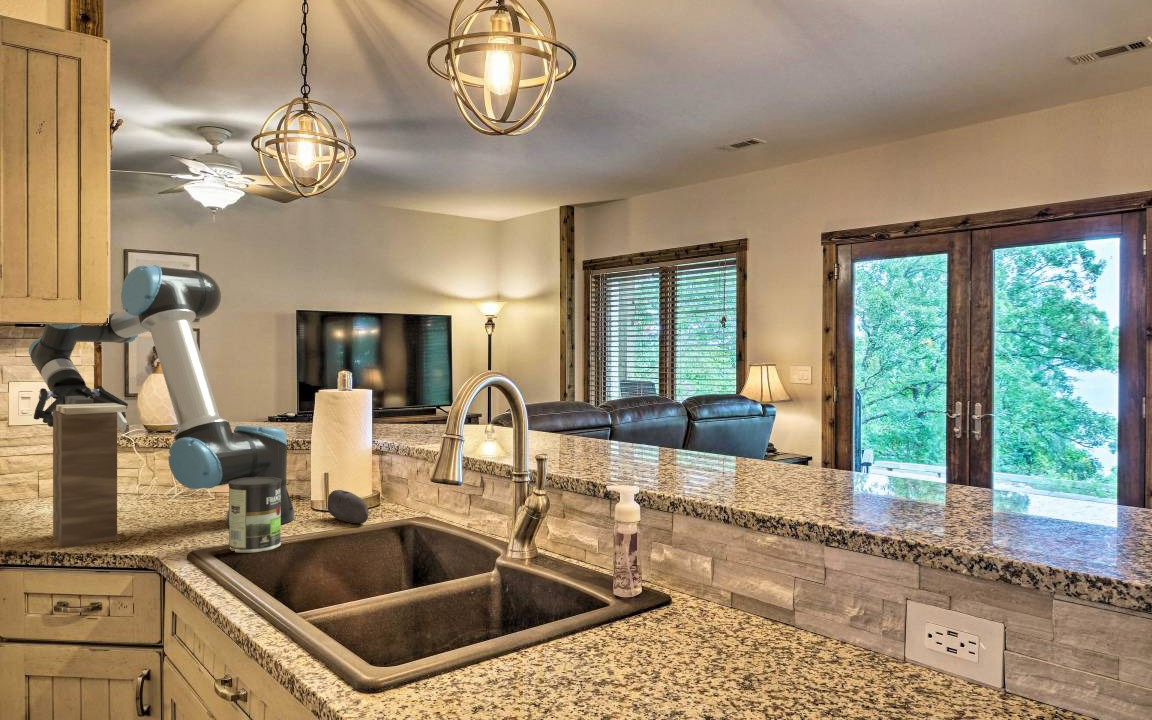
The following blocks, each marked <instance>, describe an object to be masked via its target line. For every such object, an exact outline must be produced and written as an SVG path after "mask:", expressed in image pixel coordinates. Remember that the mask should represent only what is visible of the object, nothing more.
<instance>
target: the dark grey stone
mask: <svg viewBox="0 0 1152 720" xmlns="http://www.w3.org/2000/svg"><path fill="white" fill-rule="evenodd" d="M326 505H327V506H326V507H327V511H328V513H329V515H331V516H332V517H334V518H335V519H337V520H339V521H342V522H345V521H346V522H345V523H351V524H354V523H362V524H364V523H366V522H367V521H368V519H369V516H370V514H369V512H370V511H369V508H368V506H367V503H366V502H365V500H363V498H361V497H359V496H358V495H356V494H355V493H352V492H350V491H347V490H342V489H336V490H333V491H331V492H330V493H329V495H328V498H327V504H326Z"/></svg>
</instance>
